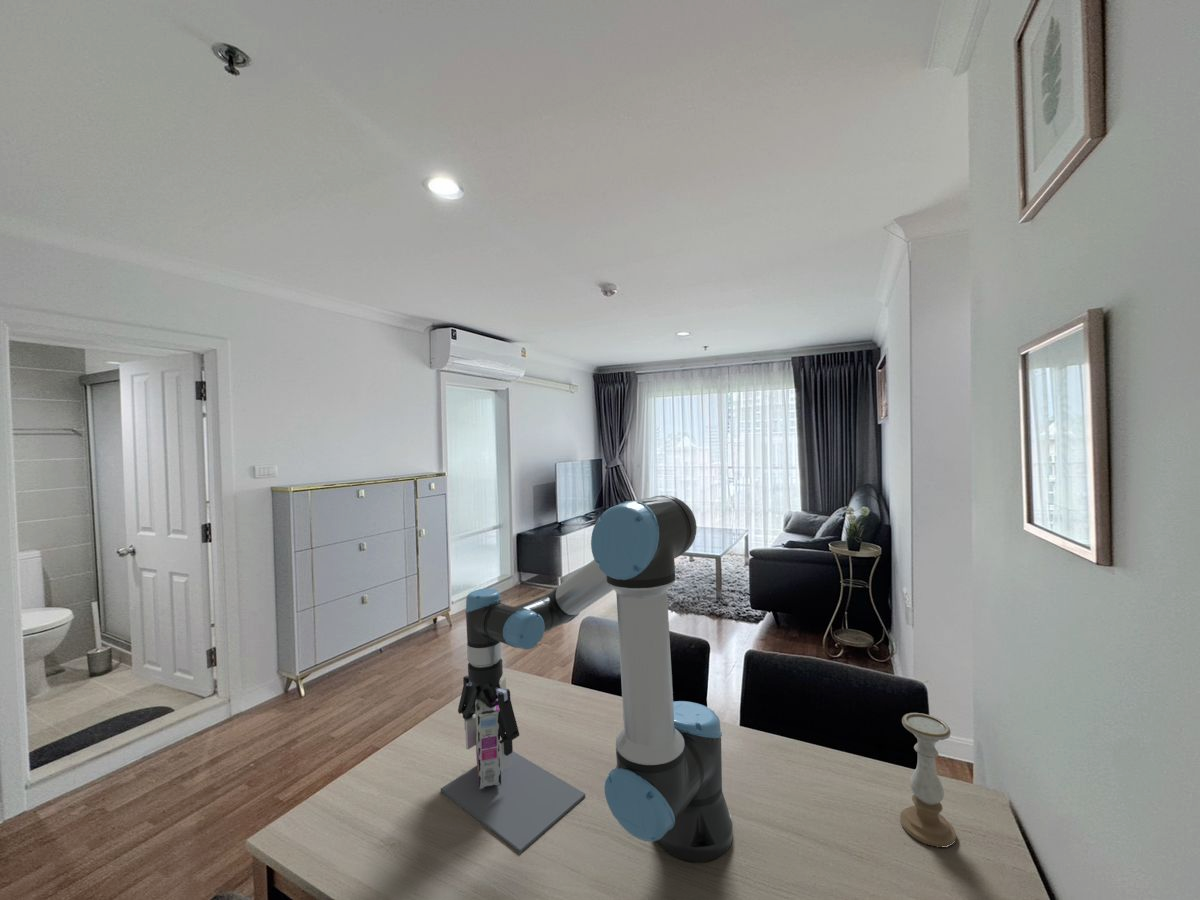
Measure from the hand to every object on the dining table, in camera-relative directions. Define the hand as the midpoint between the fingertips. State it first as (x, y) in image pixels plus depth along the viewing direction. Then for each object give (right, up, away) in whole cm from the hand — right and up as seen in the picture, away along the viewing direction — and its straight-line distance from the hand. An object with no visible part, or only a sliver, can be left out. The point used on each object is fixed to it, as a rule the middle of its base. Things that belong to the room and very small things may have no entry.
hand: (488, 756), depth 110 cm
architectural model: (-4, -5, +31) cm, 31 cm away
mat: (+6, -5, -5) cm, 9 cm away
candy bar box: (0, -4, 0) cm, 4 cm away
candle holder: (+87, -3, -17) cm, 89 cm away
